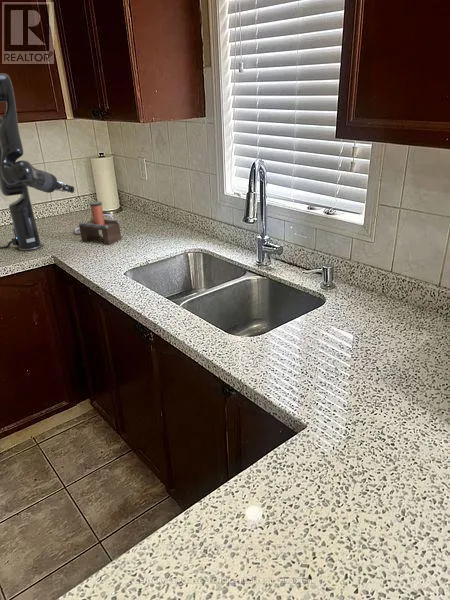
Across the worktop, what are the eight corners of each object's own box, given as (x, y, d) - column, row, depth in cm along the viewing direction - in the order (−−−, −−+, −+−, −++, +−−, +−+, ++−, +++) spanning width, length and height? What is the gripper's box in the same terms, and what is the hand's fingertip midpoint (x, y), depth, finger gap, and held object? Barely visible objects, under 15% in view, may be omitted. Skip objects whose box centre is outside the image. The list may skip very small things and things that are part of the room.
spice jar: (90, 225, 204) (86, 203, 200) (98, 222, 208) (94, 201, 204) (99, 226, 202) (96, 204, 197) (107, 223, 206) (104, 201, 202)
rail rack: (82, 241, 208) (78, 223, 204) (94, 235, 215) (91, 217, 212) (109, 244, 202) (106, 226, 198) (121, 238, 209) (118, 220, 205)
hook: (116, 228, 223) (77, 239, 218) (114, 223, 231) (76, 234, 226) (112, 214, 219) (71, 225, 215) (110, 210, 227) (71, 220, 223)
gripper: (61, 175, 172) (80, 183, 188) (28, 167, 174) (50, 175, 190) (58, 194, 173) (77, 200, 189) (24, 186, 175) (46, 193, 191)
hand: (63, 188), depth 190 cm, fingers open, 8 cm apart
